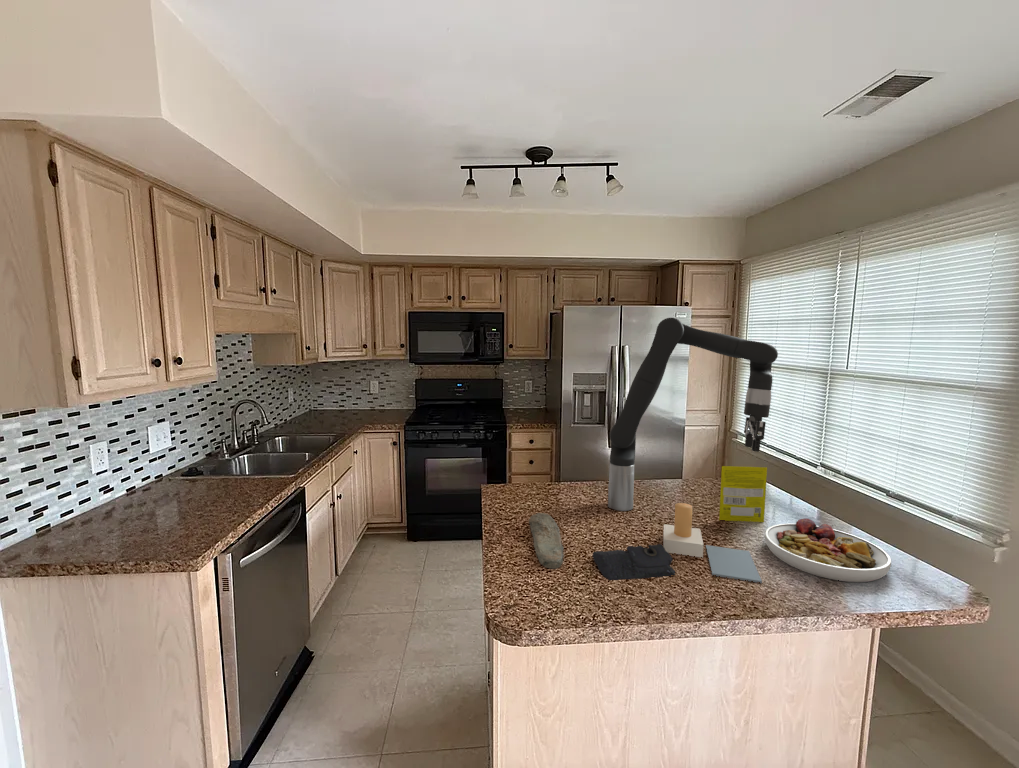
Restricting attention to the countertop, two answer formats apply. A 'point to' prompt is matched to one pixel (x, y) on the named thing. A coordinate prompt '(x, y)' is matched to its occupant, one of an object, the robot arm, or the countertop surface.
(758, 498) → the food package
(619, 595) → the countertop surface
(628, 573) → the black flat bumpy piece
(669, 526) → the white square block
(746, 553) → the mat
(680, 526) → the tan rounded cylinder
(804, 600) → the countertop surface
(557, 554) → the long grey stone
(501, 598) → the countertop surface
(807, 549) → the bowl
